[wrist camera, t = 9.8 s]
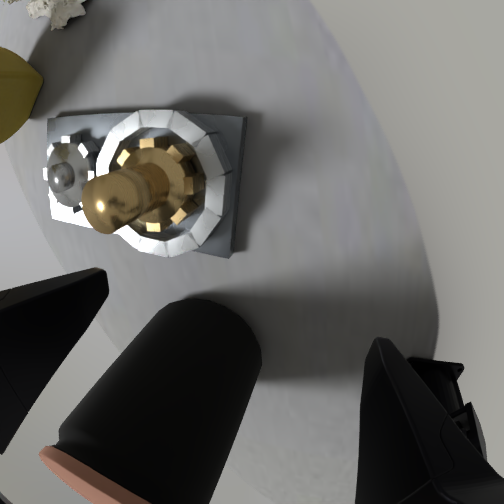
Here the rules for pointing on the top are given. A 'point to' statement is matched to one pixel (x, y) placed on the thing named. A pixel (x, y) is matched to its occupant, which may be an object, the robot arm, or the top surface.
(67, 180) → the sun gear
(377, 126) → the top surface
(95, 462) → the coffee jar
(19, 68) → the flower pot
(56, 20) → the cream lumpy figure
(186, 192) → the planet gear
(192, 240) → the carrier
